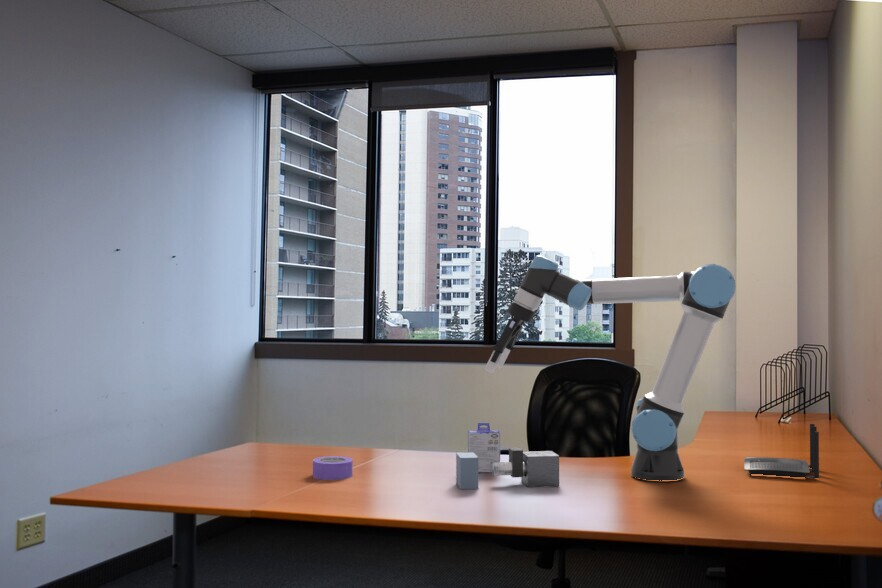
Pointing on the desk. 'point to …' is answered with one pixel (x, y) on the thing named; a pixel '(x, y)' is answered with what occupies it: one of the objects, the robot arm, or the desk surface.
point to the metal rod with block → (511, 464)
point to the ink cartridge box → (485, 446)
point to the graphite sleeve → (541, 469)
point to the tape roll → (332, 468)
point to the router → (787, 462)
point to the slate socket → (467, 470)
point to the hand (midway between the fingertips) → (492, 369)
